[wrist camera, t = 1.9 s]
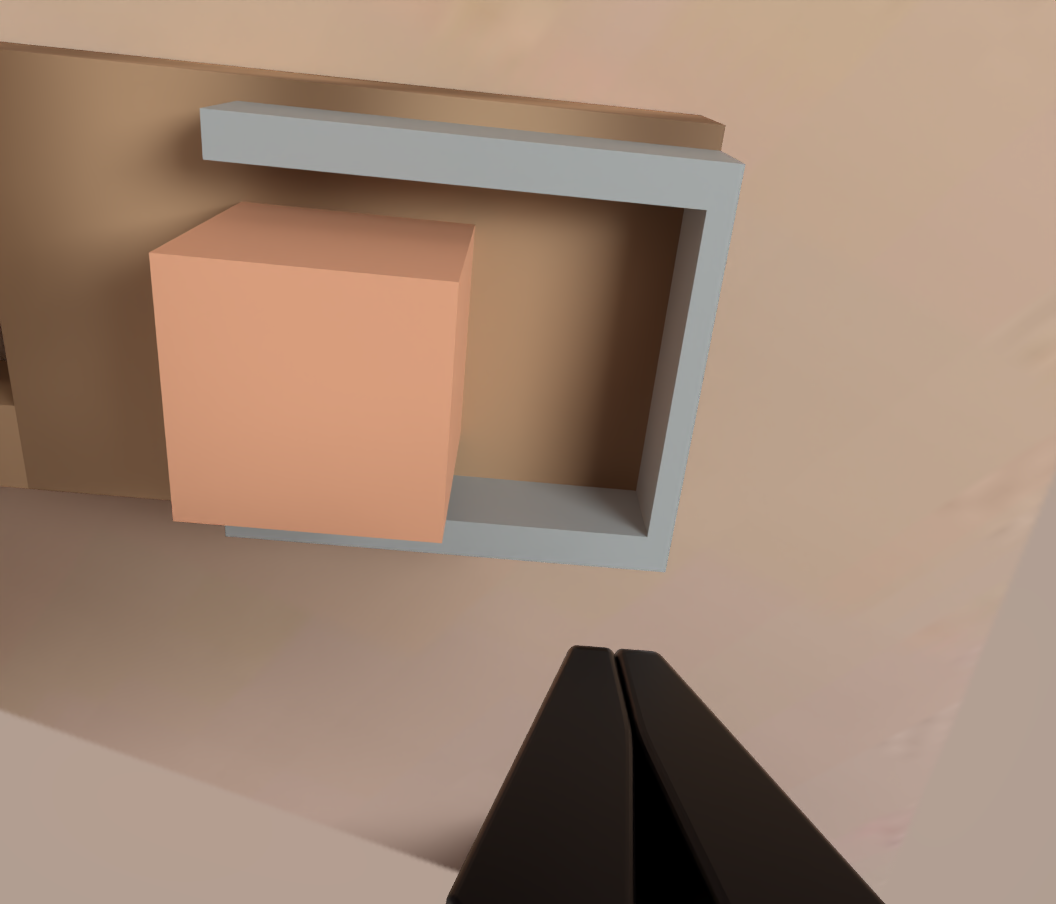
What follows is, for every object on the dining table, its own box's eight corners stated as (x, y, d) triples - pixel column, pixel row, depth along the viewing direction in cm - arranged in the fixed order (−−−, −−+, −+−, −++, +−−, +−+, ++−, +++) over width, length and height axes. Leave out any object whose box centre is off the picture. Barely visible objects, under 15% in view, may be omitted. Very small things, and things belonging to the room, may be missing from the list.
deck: (700, 115, 18) (725, 125, 16) (636, 489, 22) (649, 540, 20) (-251, 15, 17) (-367, 10, 15) (-147, 422, 21) (-227, 467, 19)
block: (475, 224, 17) (458, 282, 13) (460, 434, 19) (442, 543, 15) (241, 201, 17) (148, 252, 12) (250, 416, 18) (173, 521, 14)
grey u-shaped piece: (720, 150, 16) (745, 164, 14) (652, 523, 20) (665, 572, 18) (236, 100, 16) (199, 107, 14) (253, 490, 19) (225, 536, 17)
